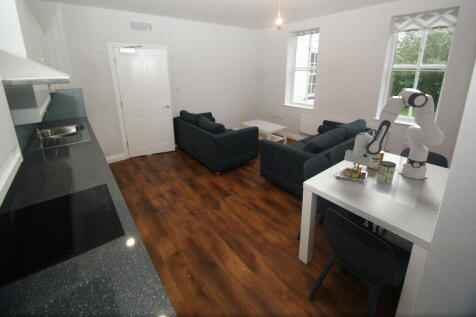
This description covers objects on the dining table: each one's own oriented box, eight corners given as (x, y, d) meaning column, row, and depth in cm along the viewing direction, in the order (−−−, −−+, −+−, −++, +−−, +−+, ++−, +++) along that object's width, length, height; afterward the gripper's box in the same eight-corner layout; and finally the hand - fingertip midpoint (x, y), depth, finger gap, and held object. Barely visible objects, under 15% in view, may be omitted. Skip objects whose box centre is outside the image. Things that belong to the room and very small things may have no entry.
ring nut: (340, 172, 186) (340, 168, 185) (353, 167, 195) (353, 163, 193) (355, 178, 176) (355, 173, 175) (368, 173, 185) (369, 168, 183)
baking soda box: (381, 168, 198) (384, 150, 192) (379, 171, 193) (383, 153, 187) (368, 165, 203) (372, 148, 197) (366, 168, 199) (370, 150, 193)
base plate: (341, 169, 198) (342, 162, 196) (367, 174, 188) (368, 167, 185) (335, 177, 183) (336, 171, 181) (363, 184, 172) (365, 176, 170)
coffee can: (380, 176, 184) (384, 159, 179) (394, 180, 176) (398, 163, 171) (373, 179, 179) (377, 162, 173) (388, 184, 171) (392, 167, 166)
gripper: (344, 150, 190) (341, 165, 195) (371, 156, 176) (367, 172, 181) (347, 148, 194) (344, 163, 199) (374, 154, 180) (370, 170, 185)
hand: (355, 168), depth 190 cm, fingers closed
